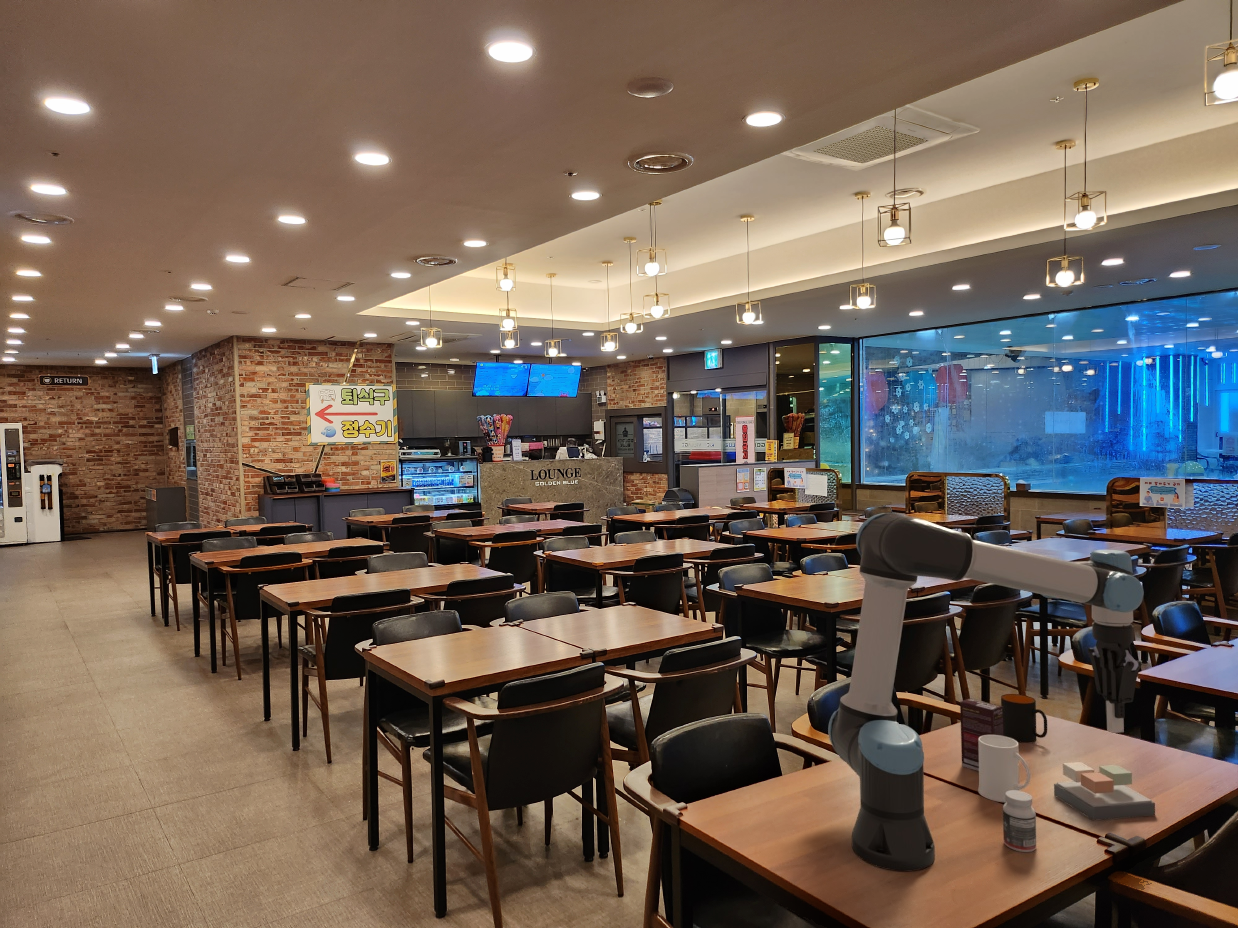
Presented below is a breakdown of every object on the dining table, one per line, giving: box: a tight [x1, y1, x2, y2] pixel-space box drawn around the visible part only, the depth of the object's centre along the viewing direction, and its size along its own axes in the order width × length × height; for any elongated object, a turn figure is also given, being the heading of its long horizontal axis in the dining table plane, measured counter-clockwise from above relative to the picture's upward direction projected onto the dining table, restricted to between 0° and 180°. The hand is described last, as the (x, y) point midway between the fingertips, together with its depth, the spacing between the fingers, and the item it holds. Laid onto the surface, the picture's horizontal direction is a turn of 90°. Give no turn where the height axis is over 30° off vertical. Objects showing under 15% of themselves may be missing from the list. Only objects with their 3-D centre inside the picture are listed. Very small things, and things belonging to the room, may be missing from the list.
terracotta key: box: [1081, 771, 1114, 794], centre depth 163 cm, size 4×4×2 cm
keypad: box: [1053, 780, 1156, 821], centre depth 167 cm, size 14×12×3 cm
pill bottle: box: [1002, 790, 1037, 853], centre depth 150 cm, size 6×6×10 cm
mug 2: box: [977, 735, 1031, 803], centre depth 171 cm, size 12×8×12 cm
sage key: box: [1098, 764, 1133, 786], centre depth 167 cm, size 4×4×2 cm
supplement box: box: [959, 698, 1004, 772], centre depth 187 cm, size 9×5×16 cm, turn 36°
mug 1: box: [1000, 693, 1048, 744], centre depth 205 cm, size 8×12×10 cm
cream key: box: [1062, 761, 1095, 782], centre depth 169 cm, size 4×4×2 cm
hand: (1115, 730), depth 167 cm, fingers closed
